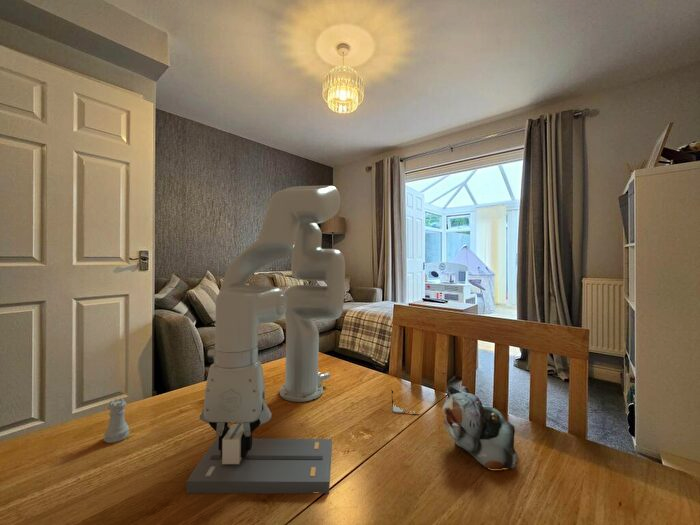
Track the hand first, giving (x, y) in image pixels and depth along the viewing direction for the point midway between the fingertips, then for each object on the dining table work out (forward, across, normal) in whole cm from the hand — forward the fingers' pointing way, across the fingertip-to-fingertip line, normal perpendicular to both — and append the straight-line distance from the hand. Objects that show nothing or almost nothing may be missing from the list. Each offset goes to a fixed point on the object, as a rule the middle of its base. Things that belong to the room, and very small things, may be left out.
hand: (235, 452), depth 57 cm
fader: (+1, 0, 0) cm, 1 cm away
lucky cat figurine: (+3, +49, +6) cm, 49 cm away
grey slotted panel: (+3, +6, 0) cm, 7 cm away
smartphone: (+4, +38, +28) cm, 47 cm away
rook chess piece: (+3, -29, +9) cm, 30 cm away
